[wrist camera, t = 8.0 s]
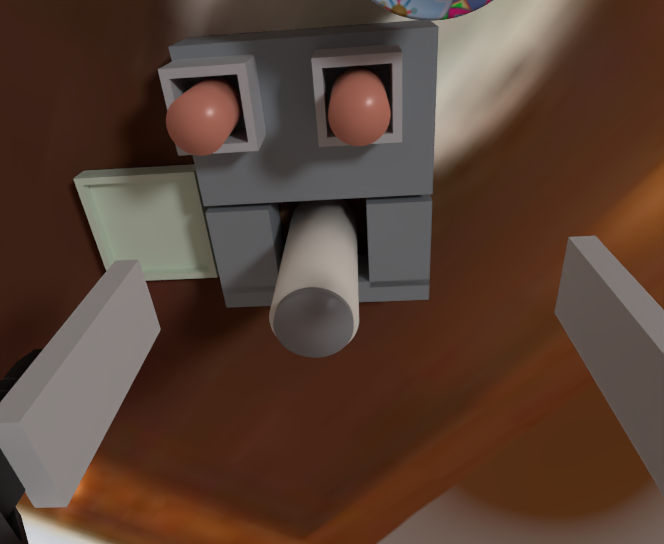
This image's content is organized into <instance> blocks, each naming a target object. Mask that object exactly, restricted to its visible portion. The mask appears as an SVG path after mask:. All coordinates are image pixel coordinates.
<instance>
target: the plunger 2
mask: <svg viewBox="0 0 664 544" xmlns="http://www.w3.org/2000/svg"><path fill="white" fill-rule="evenodd" d="M390 115H391V113H390V106H389V102H388V98H387V95H386V91H385V87H384V84H383V82H382V80H381V78H380V76H379V75H378V74H377V73H376V72H375V71H373V70H372V69H370V68H367V67H364V66H354V67H350V68H348V69H346V70H344V71H343V72H341V73H340V74H339V75H338V77H337V78H336V79H335V81H334V83H333V86H332V91H331V97H330V104H329V111H328V119H329V124H330V127H331V129H332V131H333V133H334V134H335V135H336V137H337V138H338V139H340V140H341V141H342V142H344V143H346V144H349V145H352V146H365V145H369V144H371V143H373V142H375V141H377V140H378V139H379V138H380V137H381V136H382V135H383V134H384V133H385V131H386V130H387V128H388V125H389V122H390Z"/></svg>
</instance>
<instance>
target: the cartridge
mask: <svg viewBox="0 0 664 544" xmlns="http://www.w3.org/2000/svg"><path fill="white" fill-rule="evenodd" d="M269 320H270V325H271V328H272V330H273V332H274V334H275V335H276V337H277V338H278V340H279V341H280V343H281V344H282V345H283V346H284V347H286V348H287V349H288V350H290V351H292V352H294V353H296V354H298V355H301V356H306V357H325V356H329V355H332V354H334V353H336V352H338V351H340V350H341V349H343V348H344V347H345V346H346V345H347V344H348V343H349V342H350V341H351V340H352V338H353V337H354V335H355V334H356V332H357V329H358V325H359V298H358V255H357V221H356V216H355V214H354V211H353V210H352V208H351V207H350V206H349V204H348V203H346V202H345V201H344V200H343V199H330V200H311V201H301V202H300V203H299V204H298V205H297V207H296V208H295V210H294V212H293V214H292V218H291V222H290V227H289V231H288V235H287V240H286V244H285V248H284V253H283V257H282V261H281V265H280V270H279V274H278V278H277V283H276V287H275V291H274V296H273V300H272V304H271V309H270V314H269Z"/></svg>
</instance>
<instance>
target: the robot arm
mask: <svg viewBox="0 0 664 544" xmlns="http://www.w3.org/2000/svg"><path fill="white" fill-rule="evenodd" d="M555 314H556V316H557V318H558V319H559V321H560V323H561V324H562V326H563V328H564V330H565V331H566V333H567V335H568V336H569V338H570V340H571V341H572V343H573V345H574V346H575V348H576V350H577V351H578V353H579V355H580V356H581V358H582V360H583V361H584V363H585V365H586V367H587V368H588V370H589V372H590V373H591V375H592V377H593V378H594V380H595V382H596V383H597V385H598V387H599V388H600V390H601V392H602V393H603V395H604V397H605V398H606V400H607V401H608V404H609V405H610V407H611V409H612V410H613V412H614V414H615V415H616V417H617V419H618V420H619V422H620V424H621V425H622V427H623V428H624V430H625V432H626V434H627V435H628V437H629V439H630V441H631V442H632V444H633V446H634V447H635V449H636V451H637V452H638V454H639V456H640V457H641V459H642V461H643V462H644V464H645V466H646V467H647V469H648V471H649V472H650V474H651V476H652V478H653V479H654V481H655V483H656V484H657V486H658V488H659V489H660V491H661V493H662V494H663V496H664V310H663V309H662V308H661V307H660V306H659V305H658V303H657V302H656V301H655V300H654V299H653V298H652V297H651V296H650V295H649V294H648V293H647V292H646V290H645V289H644V288H643V287H642V286H641V285H640V284H639V283H638V282H637V281H636V280H635V278H634V277H633V276H632V275H631V274H630V273H629V272H628V271H627V270H626V269H625V268H624V267H623V265H622V264H621V263H620V262H619V261H618V260H617V259H616V258H615V257H614V256H613V255H612V253H611V252H610V251H609V250H608V249H607V248H606V247H605V246H604V245H603V244H602V243H601V242H600V240H599V239H598V238H597V237H596V236H581V237H568V243H567V248H566V254H565V259H564V265H563V270H562V275H561V281H560V286H559V292H558V297H557V303H556V308H555ZM160 330H161V329H160V326H159V322H158V319H157V316H156V313H155V310H154V306H153V303H152V300H151V297H150V294H149V290H148V287H147V284H146V281H145V278H144V274H143V271H142V268H141V265H140V262H139V259H137V260H117V261H114V263H113V264H112V265H111V266H110V268H109V269H108V270H107V271H106V273H105V274H104V275H103V276H102V277H101V279H100V280H99V281H98V282H97V284H96V285H95V286H94V287H93V289H92V290H91V291H90V292H89V293H88V295H87V296H86V297H85V298H84V300H83V301H82V302H81V303H80V305H79V306H78V307H77V308H76V310H75V311H74V312H73V313H72V314H71V316H70V317H69V318H68V319H67V321H66V322H65V323H64V324H63V326H62V327H61V328H60V329H59V330H58V332H57V333H56V334H55V335H54V337H53V338H52V339H51V340H50V342H49V343H48V344H47V345H46V347H45V348H44V349H35V350H33V351H32V352H30V353H29V354H28V355H26V356H25V357H23V358H22V359H21V360H19V361H18V362H17V363H16V364H15V365H14V366H13V367H12V368H11V369H10V371H9V372H8V373H7V374H6V375H5V377H4V380H1V381H0V544H28V540H27V536H26V533H25V529H24V525H23V522H22V518H21V515H20V513H19V512H18V510H17V509H16V507H15V506H16V505H17V503H18V501H19V500H20V498H21V497H22V495H23V493H24V492H26V494H27V496H28V497H29V499H30V501H31V502H32V504H33V506H34V507H35V508H42V507H67V506H68V504H69V502H70V500H71V498H72V496H73V494H74V493H75V491H76V489H77V487H78V485H79V483H80V481H81V479H82V477H83V475H84V474H85V472H86V470H87V468H88V466H89V464H90V462H91V460H92V458H93V457H94V455H95V453H96V451H97V449H98V447H99V445H100V443H101V441H102V440H103V438H104V436H105V434H106V432H107V430H108V428H109V426H110V424H111V423H112V421H113V419H114V417H115V415H116V413H117V411H118V409H119V407H120V406H121V404H122V402H123V400H124V398H125V396H126V394H127V392H128V390H129V389H130V387H131V385H132V383H133V381H134V379H135V377H136V375H137V373H138V371H139V370H140V368H141V366H142V364H143V362H144V360H145V358H146V356H147V354H148V353H149V351H150V349H151V347H152V345H153V343H154V341H155V339H156V337H157V336H158V334H159V332H160Z"/></svg>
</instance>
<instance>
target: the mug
mask: <svg viewBox="0 0 664 544" xmlns="http://www.w3.org/2000/svg"><path fill="white" fill-rule="evenodd" d="M371 1H372V2H374V3H376V4H377V5H379V6H380V7H382V8H384V9H386V10H388V11H389V12H392V13H394V14H397V15H399V16H403V17H407V18H410V19H417V20H431V21H433V20H444V19H450V18H455V17H458V16H462V15H465V14H468V13H470V12H472V11H475V10H477V9H479V8H481V7H483V6H485V5H487V4H488V3H490V2H491V1H493V0H371Z"/></svg>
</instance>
